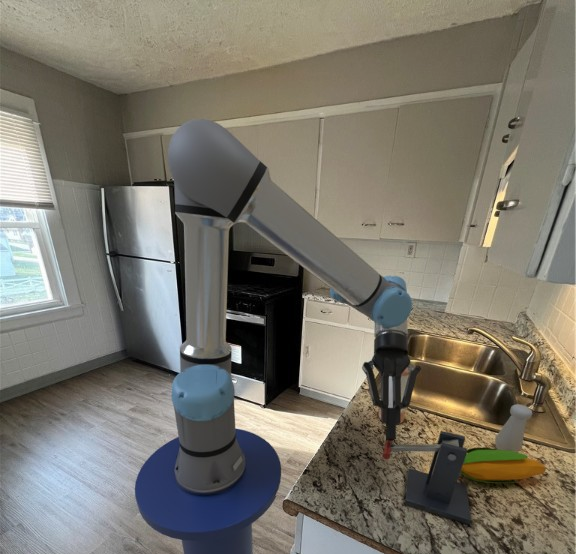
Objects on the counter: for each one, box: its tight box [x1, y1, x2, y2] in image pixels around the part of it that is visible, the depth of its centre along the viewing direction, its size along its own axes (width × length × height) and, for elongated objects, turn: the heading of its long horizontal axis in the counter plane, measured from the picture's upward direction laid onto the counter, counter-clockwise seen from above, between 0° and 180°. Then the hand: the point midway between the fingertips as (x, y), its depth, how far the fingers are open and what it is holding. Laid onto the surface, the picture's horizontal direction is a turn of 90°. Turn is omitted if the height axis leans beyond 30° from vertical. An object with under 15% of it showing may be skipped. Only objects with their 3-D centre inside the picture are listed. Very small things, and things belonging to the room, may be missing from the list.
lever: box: [381, 439, 459, 461], centre depth 64 cm, size 14×6×2 cm, turn 67°
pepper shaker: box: [378, 362, 414, 424], centre depth 89 cm, size 7×7×19 cm
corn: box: [460, 446, 547, 484], centre depth 71 cm, size 7×8×20 cm
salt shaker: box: [494, 403, 533, 453], centre depth 78 cm, size 6×6×13 cm
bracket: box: [404, 430, 472, 526], centre depth 64 cm, size 12×10×15 cm
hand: (390, 439), depth 66 cm, fingers closed
